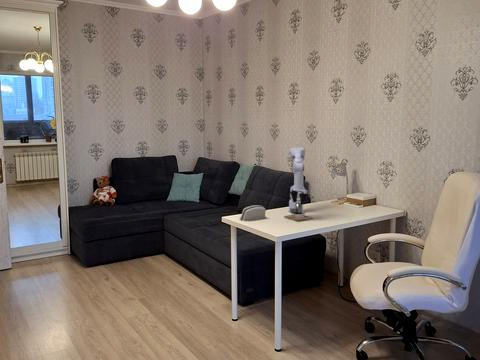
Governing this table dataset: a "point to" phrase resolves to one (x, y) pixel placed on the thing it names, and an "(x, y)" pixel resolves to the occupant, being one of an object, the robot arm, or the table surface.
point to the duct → (298, 217)
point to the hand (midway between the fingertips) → (298, 203)
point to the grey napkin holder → (253, 213)
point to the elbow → (297, 209)
